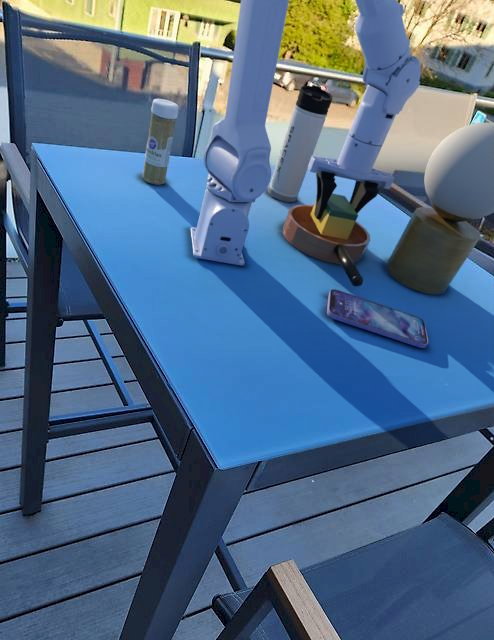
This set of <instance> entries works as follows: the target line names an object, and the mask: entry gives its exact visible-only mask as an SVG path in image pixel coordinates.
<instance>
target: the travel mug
mask: <svg viewBox="0 0 494 640" xmlns="http://www.w3.org/2000/svg"><path fill="white" fill-rule="evenodd" d="M332 101H333V95H332V94H331V93H329V92H328V91H326V90H324V89H322V87H321V86H319V85H316V84H312V85H303V86H300V89H299V93H298V96H297V100H296V101H295V104H294V108H293V110H292V114H291V117H290V120H289V123H288V126H287V129H286V133H285V135H284V139H283V142H282V145H281V149H280V151H279V155H278V157H277V161H276V164H275V168H274V170H273V173H272V175H271V179H270V183H269V185H268V190H267V193H268V194H269V196H271V197H272V198H274V199H276V200H278V201H281V202H285V203H294V202H296V201H297V199H298V197H299V193H300V191H301V189H302V186H303V183H304V180H305V178H306V175H307V172H308V170H309V169H308V165H309V162H310V159H311V156H314V152H315V150H316V147H317V144H318V141H319V137H320V135H321V133H322V130H323V127H324V125H325V122H326V118H327V116H328V112H329V109H330V107H331V104H332Z"/></svg>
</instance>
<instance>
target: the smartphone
mask: <svg viewBox="0 0 494 640" xmlns="http://www.w3.org/2000/svg"><path fill="white" fill-rule="evenodd" d="M326 307H327V308H326V314H327V316H328V317H329V318H330V319H332V320H336V321H339V322H342V323H344V324H347V325H351V326H353V327H356V328H359V329H362V330H366V331H368V332H372V333H375V334H376V335H377V334H378V335H381V336H383V337H386V338H389V339H393V340H394V341H395V340H396V341H399V342H402V343H405V344H408V345H411V346H413V347H417V348H420V349H426V347H428V345H429V338H428V332H427V327H426V323H425V321H424V319H423V318H422V317H420V316H418V315H414V314H412V313H408V312H406V311H402V310H400V309H397V308H394V307H391V306H388V305H384V304H382V303H378V302H375V301H372V300H370V299H367V298H364V297H361V296H357V295H354V294H352V293H349V292H345V291H342V290H340V289H336V288H332V289H330V290H329V292H328V296H327V306H326Z"/></svg>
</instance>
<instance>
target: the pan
mask: <svg viewBox="0 0 494 640" xmlns="http://www.w3.org/2000/svg"><path fill="white" fill-rule="evenodd" d="M313 206H314V204H298V205H293V206H292V207H289V208H288V209H289V210H288V213H287V215H286V218H285V220H284V224H283V227H282V235H283V237H284V238H285V240H286V241H287V242H288V243H289V244H290V245H291V246H292V247H294V248H295V249H297V250H299V251H300V252H302V253H303V254H304V255H307V256H310V257H312V258H315V259H316V260H317V259H318V260H319V261H323V262H327V263H332V264H336V265H337V264H338V265H341V264H340V262H339V260H338V258H337V256H336V254H335V253H334V248H335V247H336V246H337V245H340V244H341V245H343V246H344V247H345V249H346V251H347V252H348V254H349V256H350V257H351V259H352V261H353V262H354V264H355V263H358V262H359V261H360V260H361V259H362V258H363V256H364V254H365V252H366V250H367V248H368V246H369V245H370V242H371V234H370V233H369V231H368V229H366V228H365V227H364V226H363V225H362V224H360V223H359V222H358V221H356V222H355V224H354V226H353V228H352V230H351V233H350V235H349V237H348V239H347V240H346V239H341V238H336V237H331V236H326V235H321V234H320V232H319V230H318V228H317V226H316V224H315V222H314V220H313V218H312V217H311V215H310V214H311V212H312V209H313Z"/></svg>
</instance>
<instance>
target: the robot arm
mask: <svg viewBox="0 0 494 640" xmlns="http://www.w3.org/2000/svg"><path fill="white" fill-rule="evenodd" d="M354 1H355V4H356V7H357V9H358V11H359V13H358V15H357V17H356V20H355V22H354V30H355V34H356V36H357V40H358V43H359V46H360V48H361V51H362V55H363V57H364V68H363V72H362V82H363V83H364V85H365V86H366V87H365V90H364V93H363V95H362V98H361V101H360V104H359V106H358V108H357V111H356V113H355V115H354V118H353V121H352V123H351V126H350V127H349V130H348V133H347V135H346V138H345V141H344V144H343V146H342V148H341V151H340V153H339V156H338V158H331V157H319V156H314V155H312V156H311V159H310V162H309V165H308V169H307V170H308V171H309V172H310V173H314V174H315V178H316V199H315V201H316V207H315V212H314V215H315V217H316V218H317V219H320V218H321V216H322V215H323V212H324V210H325V208H326V205H327V202H328V200H329V198H330V196H331V195H332V193H333V194H334V192H335V190H336V188H337V187H338V184H337V182H336V177H338V178H341V179H347V180H351V181H355V183H354V186H353V191H352V194H351V197H350V198H349V199H350V200H349V203H350V204H351V206H352V207H353V208H354V210H355V211H356V213H357V214H358V215H359V213H360V212H361V210H362V209H363V208H364V207H365V206H366V205H367V204H369V203H370V202H371V201H372V200H374V199H375V198H376V197H377V196H378V195H379V192H380V190H379V189H378V187H382V188H383V189H386V190H390V189H391V187H392V185H393V183H394V181H395V177H394V176H393V175H392V174H391V173H389V172H385V171H381V170H378V169H375V168H373V167H374V166H375V163H376V161H377V159H378V156H379V154H380V152H381V149H382V148H383V145H384V143H385V141H386V139H387V137H388V134H389V132H390V130H391V128H392V126H393V123H394V120H395V118H396V116H397V115H399V114H400V112H402V110H403V109H404V106H405V104H406V102H407V101H408V100H409V99H410V98H411V97H412V96H413V95H414V94H415V92H416V91H417V90H418V88H419V87H420V85H421V81H420V80H421V75H422V67H421V63H420V59H418V57H417V56H415V55H413V54H411V49H410V46H411V41H410V38H409V37H408V36H407V31H406V28H405V23H404V19H403V15H405V8H404V4H402V3H401V2H399V1H398V0H354ZM289 2H290V0H240V5H239V12H238V20H237V27H236V35H235V42H234V49H233V57H232V64H231V72H230V79H229V86H228V94H227V101H226V107H225V116H224V118H222V119H220V120H219V121H217V122H216V123H214V124H213V126H212V131H211V132H212V133H211V136H210V140H209V142H208V144H207V145H206V147H205V150H204V153H203V165H204V167H205V169H206V171H207V175H206V179H205V180H206V181H207V182H206V186H205V190H204V195H203V198H202V203H201V207H200V211H199V215H198V220H197V224H196V227H195V226H191V227H190V238H191V245H192V255H193V257H194V258H196V259H201V260H208V261H211V262H212V261H213V262H218V263H223V264H224V263H225V264H231V265H235V266H245V259H244V255H243V248H244V246H245V242H246V239H247V235H248V233H249V229H250V221H249V213H250V211H251V207H252V205H253V203H256V199H258V198H259V197H261V196H262V195H263V194H264V192H265V191H266V190H267V188H269V186H270V183H271V180H272V167H271V162H270V157H271V153H272V152H271V151H272V146H271V141H270V139H269V135H268V132H267V128H266V122H267V119H268V113H269V106H270V101H271V95H272V90H273V85H274V80H275V76H276V71H277V66H278V65H277V64H278V61H279V54H280V49H281V44H282V39H283V34H284V28H285V24H286V23H285V22H286V19H287V12H288V8H289Z"/></svg>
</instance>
